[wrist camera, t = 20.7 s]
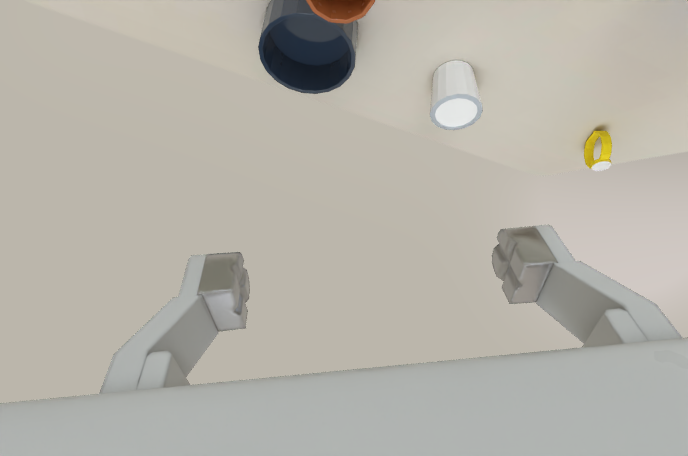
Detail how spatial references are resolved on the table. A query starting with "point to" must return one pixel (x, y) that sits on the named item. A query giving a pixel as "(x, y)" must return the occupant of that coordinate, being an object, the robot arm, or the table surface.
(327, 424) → the robot arm
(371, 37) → the table surface
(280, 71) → the wide pot
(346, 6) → the orange cup
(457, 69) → the white cylinder
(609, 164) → the watch
